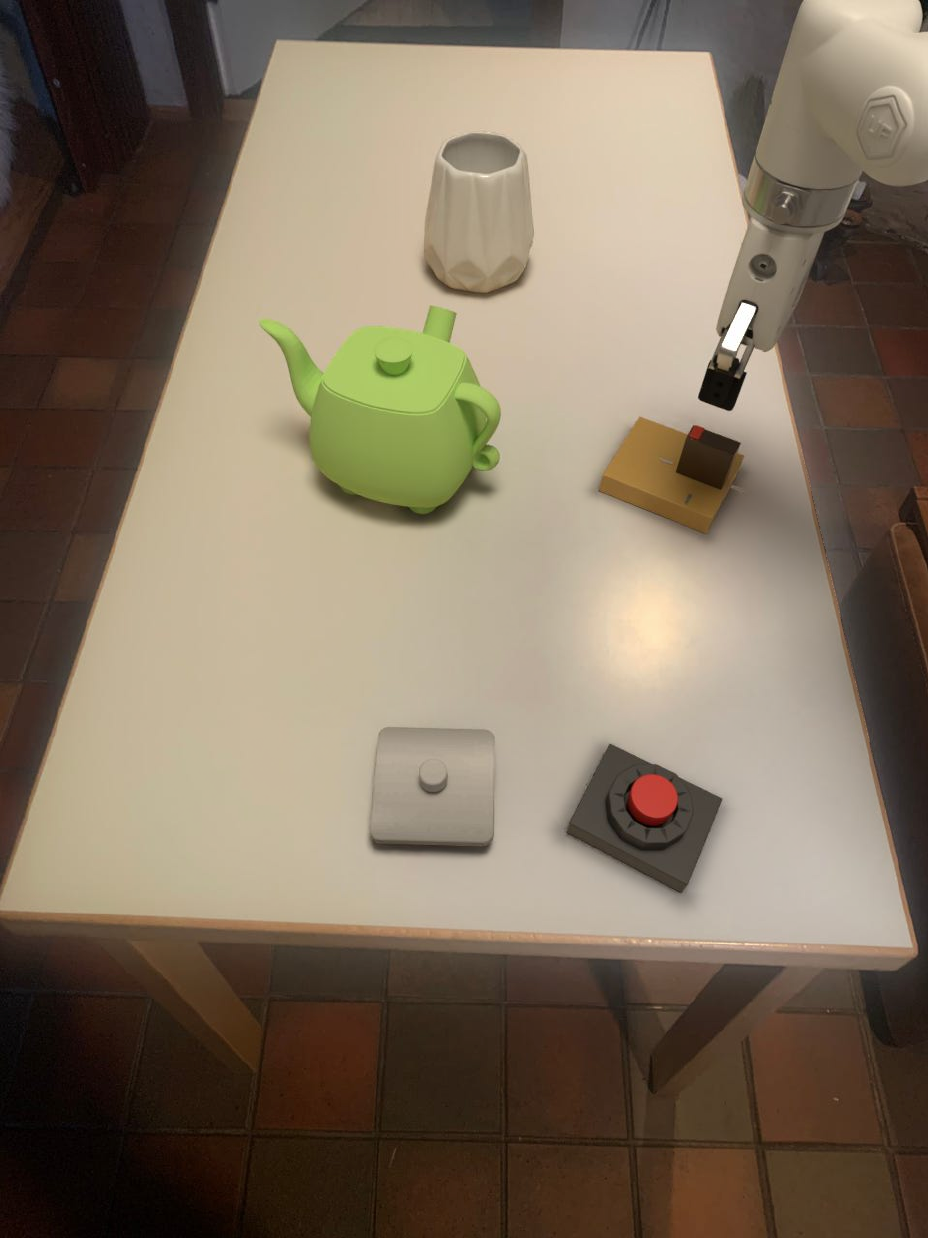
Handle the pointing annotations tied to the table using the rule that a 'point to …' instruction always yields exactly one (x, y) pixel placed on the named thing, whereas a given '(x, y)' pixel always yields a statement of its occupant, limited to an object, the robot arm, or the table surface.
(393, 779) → the light switch
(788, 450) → the table surface
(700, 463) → the lock knob
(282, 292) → the table surface
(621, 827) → the button base
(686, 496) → the plate
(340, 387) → the teapot
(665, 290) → the table surface
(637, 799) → the button
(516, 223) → the vase
